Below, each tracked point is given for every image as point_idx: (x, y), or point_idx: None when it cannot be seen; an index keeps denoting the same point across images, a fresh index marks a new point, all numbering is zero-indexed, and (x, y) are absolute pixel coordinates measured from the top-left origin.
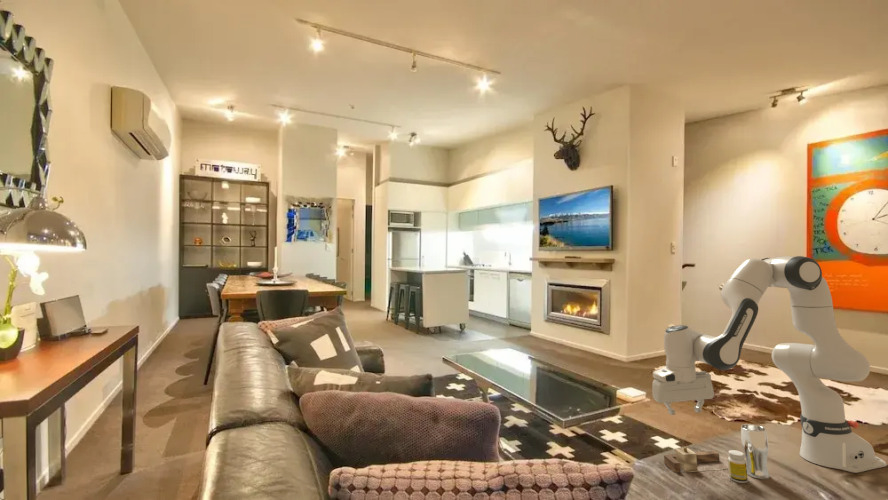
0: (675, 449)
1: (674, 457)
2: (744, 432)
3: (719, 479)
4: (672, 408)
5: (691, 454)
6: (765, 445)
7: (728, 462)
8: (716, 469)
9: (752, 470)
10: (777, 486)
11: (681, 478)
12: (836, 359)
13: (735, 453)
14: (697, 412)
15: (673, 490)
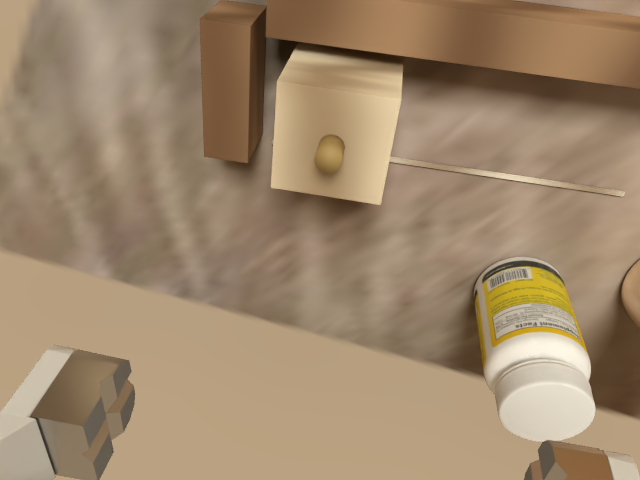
0: (277, 85)
1: (289, 38)
2: None
3: (418, 258)
4: (86, 438)
5: (340, 197)
6: None
7: (492, 336)
8: (511, 176)
9: (637, 320)
10: (630, 375)
11: (217, 193)
12: None
13: (529, 418)
14: (529, 475)
15: (111, 266)
